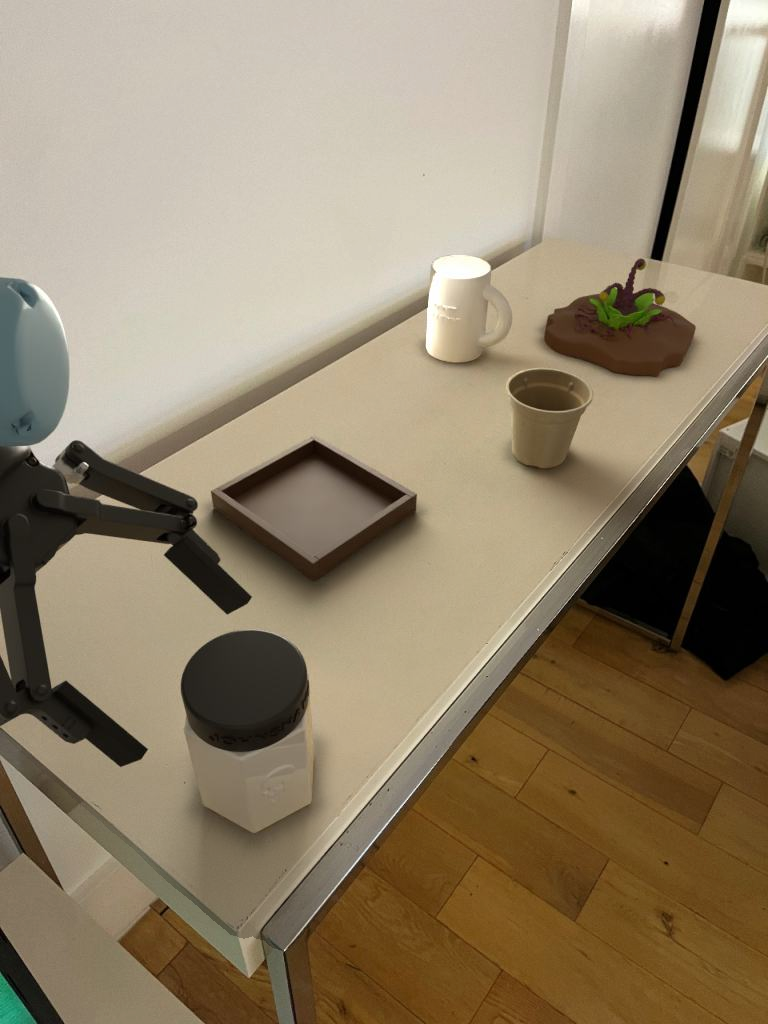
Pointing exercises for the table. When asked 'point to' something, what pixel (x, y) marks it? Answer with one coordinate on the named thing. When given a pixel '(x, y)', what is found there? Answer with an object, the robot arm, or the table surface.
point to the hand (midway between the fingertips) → (192, 675)
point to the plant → (621, 329)
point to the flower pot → (545, 414)
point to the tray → (314, 505)
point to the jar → (250, 727)
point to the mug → (463, 309)
